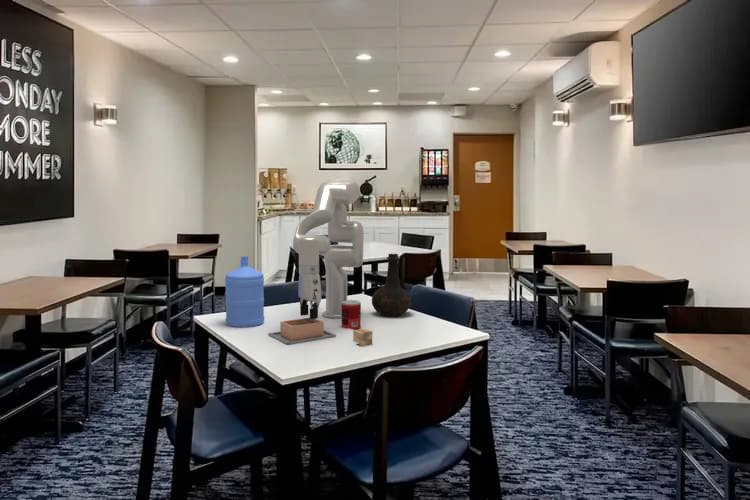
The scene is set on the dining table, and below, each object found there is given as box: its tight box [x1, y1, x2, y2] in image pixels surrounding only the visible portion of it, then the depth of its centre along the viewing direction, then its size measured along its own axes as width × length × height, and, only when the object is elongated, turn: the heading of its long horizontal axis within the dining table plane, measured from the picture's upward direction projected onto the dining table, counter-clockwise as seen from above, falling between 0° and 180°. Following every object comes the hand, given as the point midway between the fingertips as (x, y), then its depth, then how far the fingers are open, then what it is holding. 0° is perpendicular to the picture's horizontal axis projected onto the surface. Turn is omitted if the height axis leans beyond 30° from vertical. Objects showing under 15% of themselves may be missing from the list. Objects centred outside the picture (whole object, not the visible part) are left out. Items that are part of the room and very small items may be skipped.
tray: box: [267, 329, 337, 346], centre depth 200 cm, size 20×16×2 cm
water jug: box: [224, 256, 265, 328], centre depth 222 cm, size 16×16×28 cm
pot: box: [279, 317, 325, 341], centre depth 200 cm, size 13×9×6 cm
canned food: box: [341, 299, 362, 330], centre depth 216 cm, size 8×8×11 cm
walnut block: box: [300, 317, 319, 325], centre depth 201 cm, size 5×5×5 cm
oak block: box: [352, 327, 373, 347], centre depth 194 cm, size 5×5×5 cm
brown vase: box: [371, 253, 412, 317], centre depth 242 cm, size 18×18×28 cm
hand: (309, 316), depth 201 cm, fingers open, 6 cm apart
